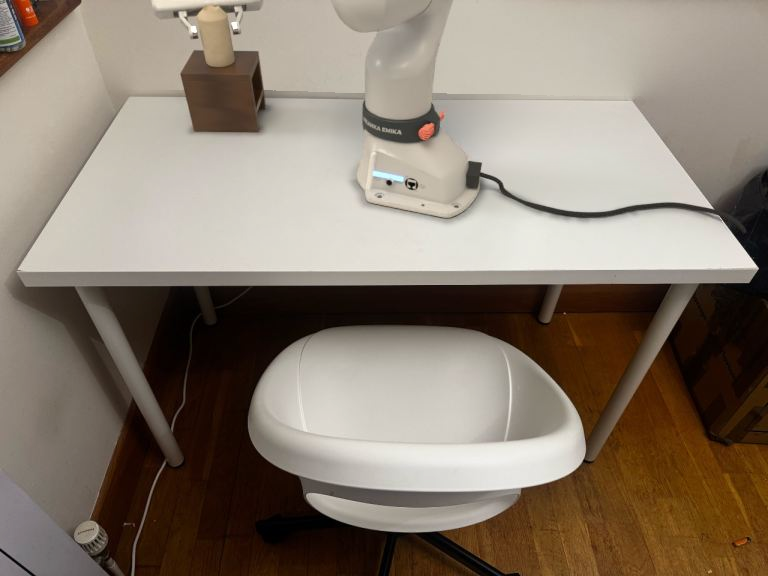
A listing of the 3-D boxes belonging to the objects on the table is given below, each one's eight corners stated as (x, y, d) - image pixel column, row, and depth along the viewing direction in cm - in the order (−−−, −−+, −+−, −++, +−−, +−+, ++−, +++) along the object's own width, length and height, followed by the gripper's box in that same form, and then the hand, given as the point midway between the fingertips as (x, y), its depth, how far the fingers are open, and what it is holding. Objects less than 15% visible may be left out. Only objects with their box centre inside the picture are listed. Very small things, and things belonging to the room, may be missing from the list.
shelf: (266, 106, 122) (258, 50, 114) (258, 132, 114) (249, 74, 106) (205, 105, 122) (193, 49, 114) (194, 131, 114) (179, 73, 106)
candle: (203, 58, 111) (192, 4, 104) (231, 54, 112) (221, 0, 105) (209, 69, 107) (198, 14, 100) (238, 64, 109) (229, 10, 102)
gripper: (138, -44, 100) (155, 33, 100) (253, -52, 105) (270, 21, 105) (144, -24, 106) (160, 49, 106) (253, -32, 111) (268, 37, 111)
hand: (216, 35), depth 106 cm, fingers open, 6 cm apart
